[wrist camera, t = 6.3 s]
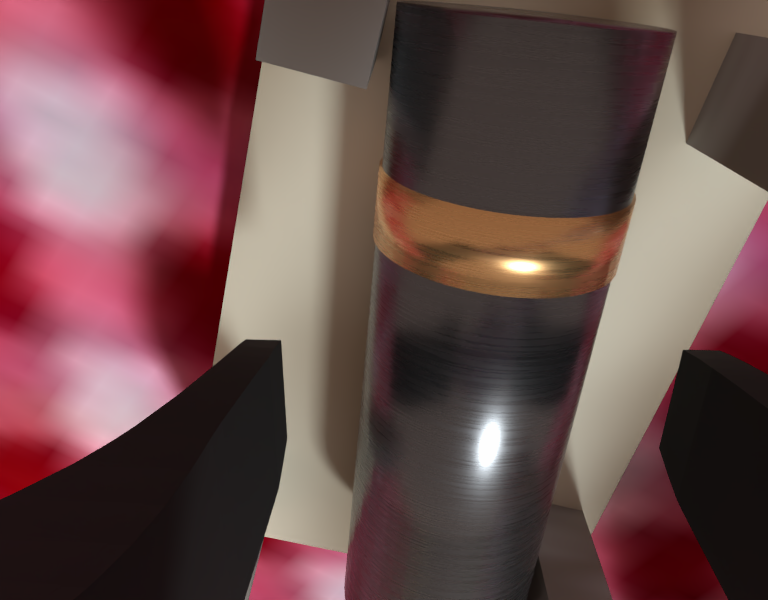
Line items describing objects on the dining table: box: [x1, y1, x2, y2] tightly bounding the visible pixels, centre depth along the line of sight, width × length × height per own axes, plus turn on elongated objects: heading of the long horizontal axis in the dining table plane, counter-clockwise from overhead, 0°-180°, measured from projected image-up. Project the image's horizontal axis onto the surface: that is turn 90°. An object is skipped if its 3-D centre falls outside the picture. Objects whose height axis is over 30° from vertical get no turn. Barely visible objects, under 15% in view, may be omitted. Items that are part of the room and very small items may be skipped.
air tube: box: [344, 1, 677, 600], centre depth 12 cm, size 12×4×4 cm, turn 175°
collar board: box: [213, 0, 768, 600], centre depth 13 cm, size 10×15×4 cm, turn 166°
